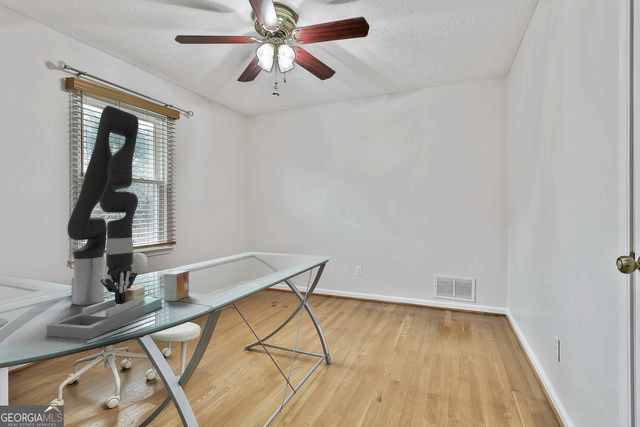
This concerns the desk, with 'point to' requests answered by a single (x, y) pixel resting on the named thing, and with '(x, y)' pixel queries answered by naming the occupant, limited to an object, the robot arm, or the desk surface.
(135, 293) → the block
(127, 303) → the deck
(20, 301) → the desk surface
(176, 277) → the small box
